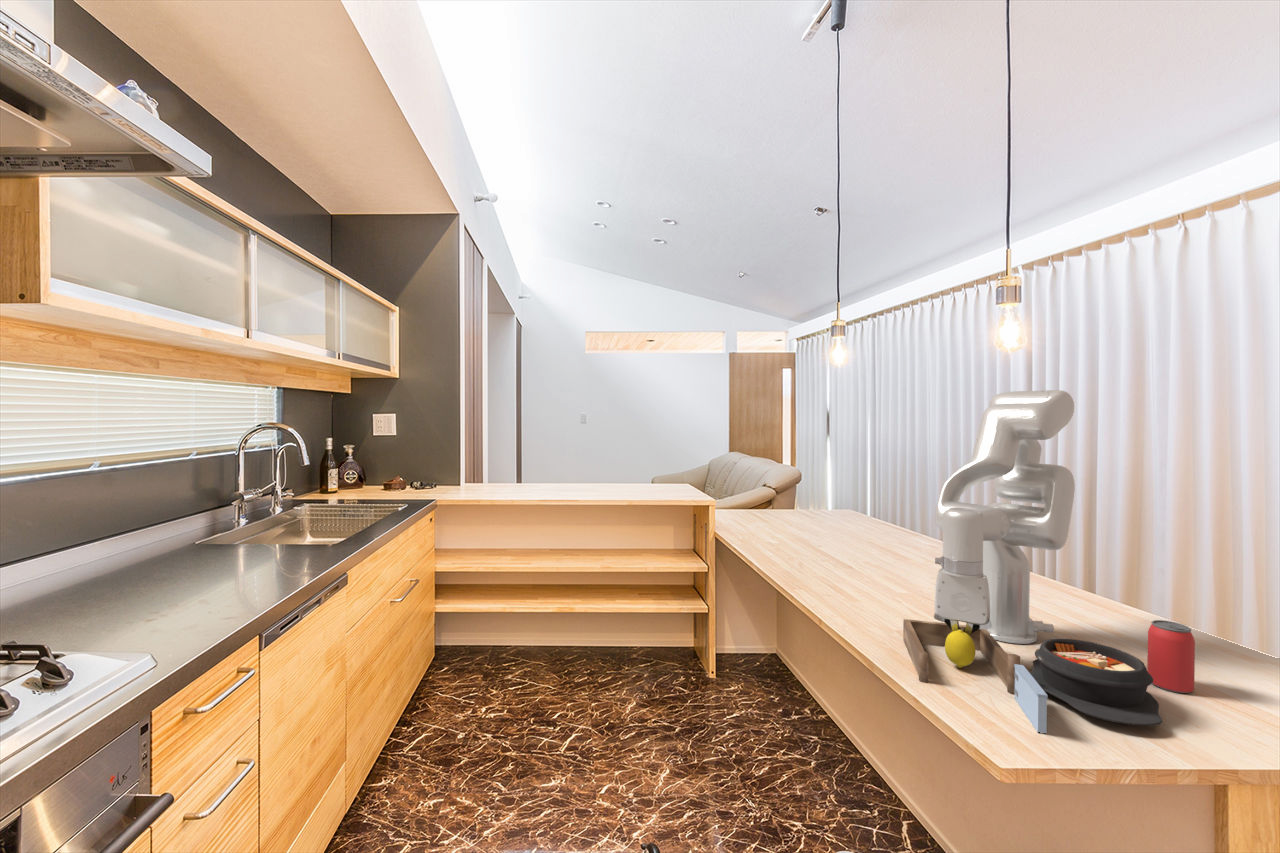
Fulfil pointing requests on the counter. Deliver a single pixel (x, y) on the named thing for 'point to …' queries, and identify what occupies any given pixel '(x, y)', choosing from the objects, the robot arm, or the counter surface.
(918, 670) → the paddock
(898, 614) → the counter surface
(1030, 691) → the gate
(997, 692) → the counter surface
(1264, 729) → the counter surface
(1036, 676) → the casserole
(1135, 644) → the counter surface
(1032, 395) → the robot arm
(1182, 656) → the beer can
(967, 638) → the lemon
